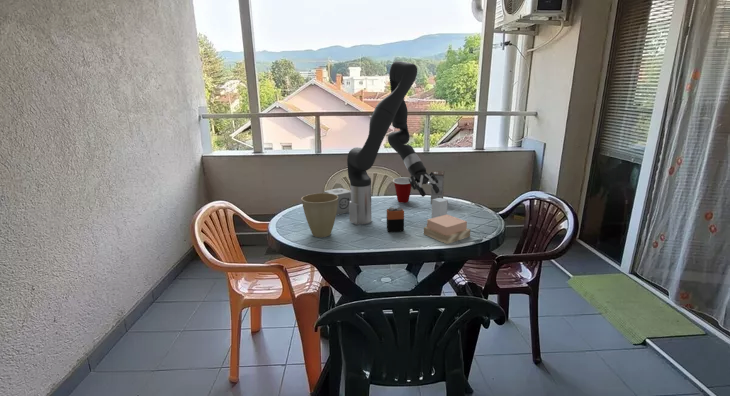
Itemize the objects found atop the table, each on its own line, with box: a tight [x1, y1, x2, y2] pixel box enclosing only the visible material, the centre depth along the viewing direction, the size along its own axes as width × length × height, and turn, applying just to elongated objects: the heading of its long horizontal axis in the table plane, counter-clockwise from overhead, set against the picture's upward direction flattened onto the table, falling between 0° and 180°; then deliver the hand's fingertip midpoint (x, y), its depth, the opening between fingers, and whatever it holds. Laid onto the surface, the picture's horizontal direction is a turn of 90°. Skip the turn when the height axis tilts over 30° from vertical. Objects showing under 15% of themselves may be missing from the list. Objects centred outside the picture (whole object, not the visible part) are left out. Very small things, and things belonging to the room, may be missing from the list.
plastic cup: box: [392, 176, 412, 204], centre depth 197 cm, size 11×11×12 cm
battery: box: [386, 206, 405, 233], centre depth 157 cm, size 4×7×10 cm, turn 96°
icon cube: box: [323, 187, 351, 216], centre depth 184 cm, size 10×10×10 cm
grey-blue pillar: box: [430, 197, 449, 219], centre depth 167 cm, size 5×5×10 cm
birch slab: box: [423, 226, 471, 245], centre depth 152 cm, size 13×13×4 cm
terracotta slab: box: [426, 214, 468, 236], centre depth 150 cm, size 11×11×4 cm
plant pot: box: [301, 192, 338, 238], centre depth 153 cm, size 15×15×16 cm
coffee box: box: [430, 170, 445, 205], centre depth 194 cm, size 9×6×16 cm
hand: (431, 194), depth 170 cm, fingers open, 8 cm apart
